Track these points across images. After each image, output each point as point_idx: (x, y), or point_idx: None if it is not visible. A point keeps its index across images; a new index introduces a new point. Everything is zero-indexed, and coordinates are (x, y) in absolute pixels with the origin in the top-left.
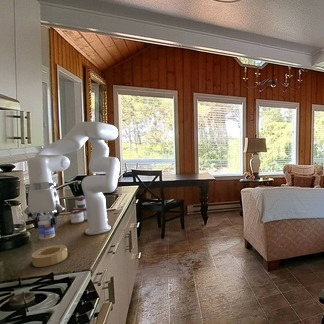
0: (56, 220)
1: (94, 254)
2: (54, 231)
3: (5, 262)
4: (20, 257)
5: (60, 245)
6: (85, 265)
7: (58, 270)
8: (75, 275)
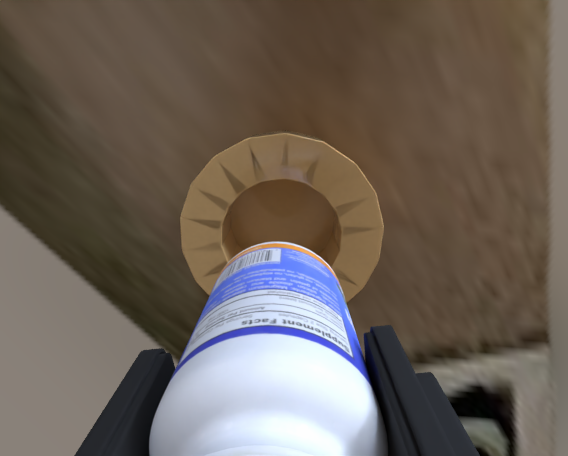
0: (458, 440)
1: (532, 172)
2: (345, 303)
3: (31, 229)
4: (59, 172)
5: (301, 147)
6: (521, 299)
7: (401, 333)
8: (505, 377)
